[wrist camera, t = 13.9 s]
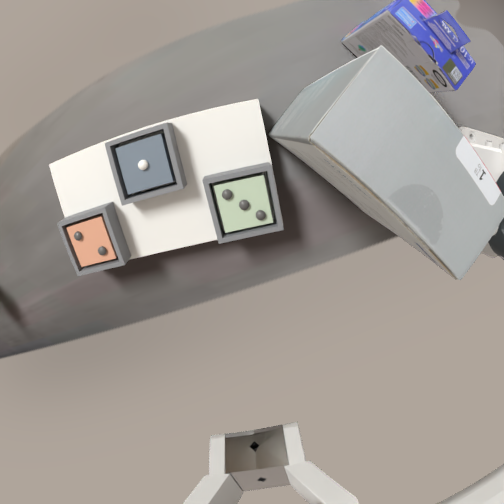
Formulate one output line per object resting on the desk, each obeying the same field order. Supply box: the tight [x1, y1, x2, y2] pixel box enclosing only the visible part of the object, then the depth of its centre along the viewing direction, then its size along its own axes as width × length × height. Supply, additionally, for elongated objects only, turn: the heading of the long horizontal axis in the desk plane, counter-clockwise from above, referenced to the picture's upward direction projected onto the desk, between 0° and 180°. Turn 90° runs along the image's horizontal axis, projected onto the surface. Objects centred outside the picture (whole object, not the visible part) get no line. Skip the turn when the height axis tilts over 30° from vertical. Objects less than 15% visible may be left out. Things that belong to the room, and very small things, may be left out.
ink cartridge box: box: [341, 0, 476, 93], centre depth 22 cm, size 10×6×14 cm, turn 49°
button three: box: [214, 172, 273, 233], centre depth 31 cm, size 5×5×2 cm
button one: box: [115, 133, 176, 195], centre depth 29 cm, size 5×5×2 cm
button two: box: [67, 213, 118, 267], centre depth 32 cm, size 5×5×2 cm
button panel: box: [49, 99, 284, 276], centre depth 32 cm, size 25×14×6 cm, turn 102°
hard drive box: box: [268, 45, 504, 280], centre depth 25 cm, size 16×8×20 cm, turn 54°
